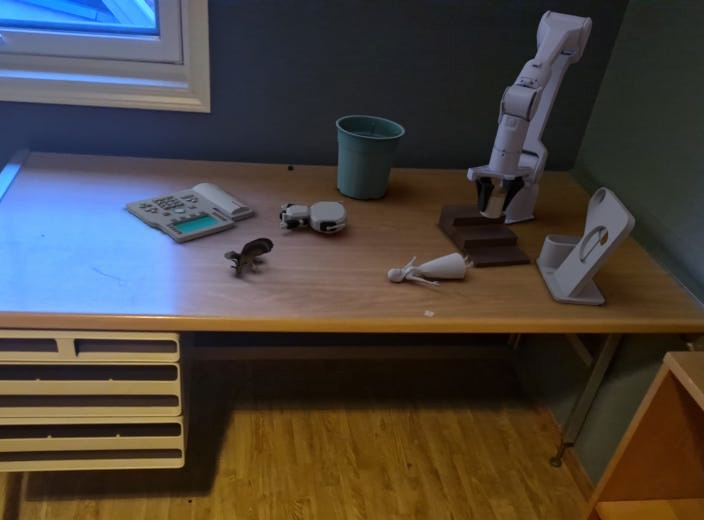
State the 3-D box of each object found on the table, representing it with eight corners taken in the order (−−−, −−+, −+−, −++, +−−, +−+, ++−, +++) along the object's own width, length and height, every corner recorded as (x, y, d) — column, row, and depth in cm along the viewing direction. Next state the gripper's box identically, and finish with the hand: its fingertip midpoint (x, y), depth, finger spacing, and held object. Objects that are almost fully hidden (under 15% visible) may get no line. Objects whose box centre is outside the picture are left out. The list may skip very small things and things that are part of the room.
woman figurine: (485, 268, 129) (400, 281, 125) (481, 287, 132) (398, 300, 128) (458, 240, 138) (378, 251, 134) (455, 258, 141) (376, 270, 137)
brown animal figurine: (261, 280, 126) (282, 253, 132) (241, 250, 123) (263, 223, 128) (233, 287, 131) (254, 261, 136) (213, 258, 128) (235, 233, 133)
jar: (490, 207, 146) (497, 183, 143) (505, 216, 143) (512, 192, 139) (474, 211, 144) (481, 186, 140) (489, 220, 141) (496, 195, 137)
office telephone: (211, 177, 159) (263, 208, 148) (211, 188, 160) (262, 219, 149) (124, 198, 146) (174, 233, 135) (125, 209, 147) (174, 245, 136)
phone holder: (534, 258, 144) (560, 180, 133) (580, 262, 144) (609, 184, 133) (555, 302, 130) (586, 218, 119) (606, 306, 130) (641, 222, 119)
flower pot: (369, 173, 175) (377, 111, 165) (407, 198, 164) (419, 133, 154) (316, 182, 168) (322, 118, 158) (353, 208, 157) (361, 141, 147)
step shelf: (437, 225, 154) (442, 205, 150) (487, 222, 157) (493, 202, 154) (475, 267, 139) (481, 246, 136) (529, 263, 142) (536, 242, 139)
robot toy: (278, 240, 143) (347, 241, 143) (277, 221, 140) (348, 221, 140) (280, 215, 153) (345, 216, 153) (280, 197, 150) (346, 197, 150)
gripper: (485, 156, 130) (469, 219, 138) (549, 154, 133) (530, 216, 142) (469, 143, 135) (454, 205, 143) (531, 142, 139) (513, 202, 147)
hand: (491, 210), depth 143 cm, fingers closed on jar, 4 cm apart
